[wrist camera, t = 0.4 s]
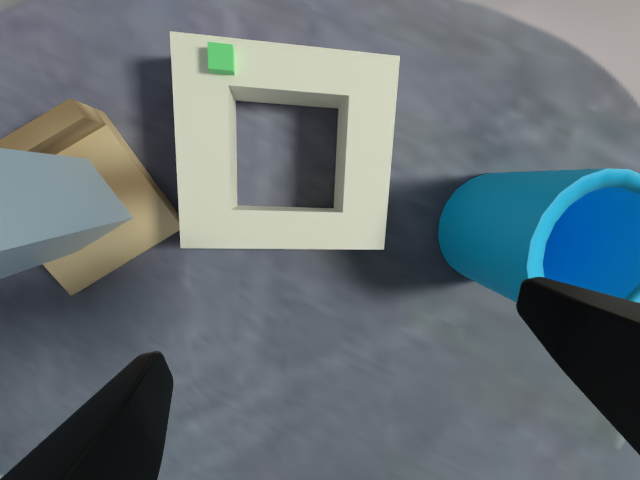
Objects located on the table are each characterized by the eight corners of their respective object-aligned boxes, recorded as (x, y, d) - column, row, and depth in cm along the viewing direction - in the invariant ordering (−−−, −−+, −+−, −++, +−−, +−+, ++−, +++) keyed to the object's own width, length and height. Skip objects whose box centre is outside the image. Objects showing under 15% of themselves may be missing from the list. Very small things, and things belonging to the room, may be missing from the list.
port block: (369, 240, 21) (387, 251, 18) (194, 238, 20) (177, 250, 16) (381, 75, 19) (404, 51, 16) (187, 56, 18) (165, 25, 14)
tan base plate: (186, 225, 19) (170, 233, 17) (81, 290, 19) (46, 309, 16) (104, 112, 18) (70, 98, 15) (-14, 182, 17) (-73, 182, 14)
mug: (458, 296, 23) (550, 355, 15) (421, 203, 22) (506, 216, 14) (588, 227, 24) (742, 250, 16) (563, 131, 22) (725, 102, 14)
